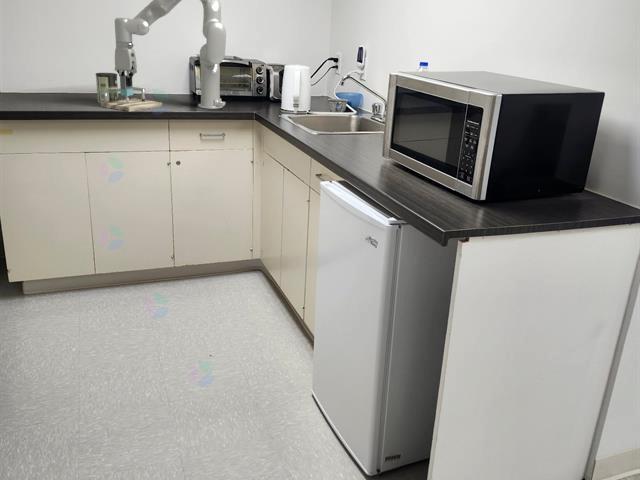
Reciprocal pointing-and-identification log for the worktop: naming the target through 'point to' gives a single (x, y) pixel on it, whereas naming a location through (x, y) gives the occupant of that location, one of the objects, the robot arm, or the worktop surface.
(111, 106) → the hole plate
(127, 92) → the block
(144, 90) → the divider frame
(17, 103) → the worktop surface
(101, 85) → the coffee can
